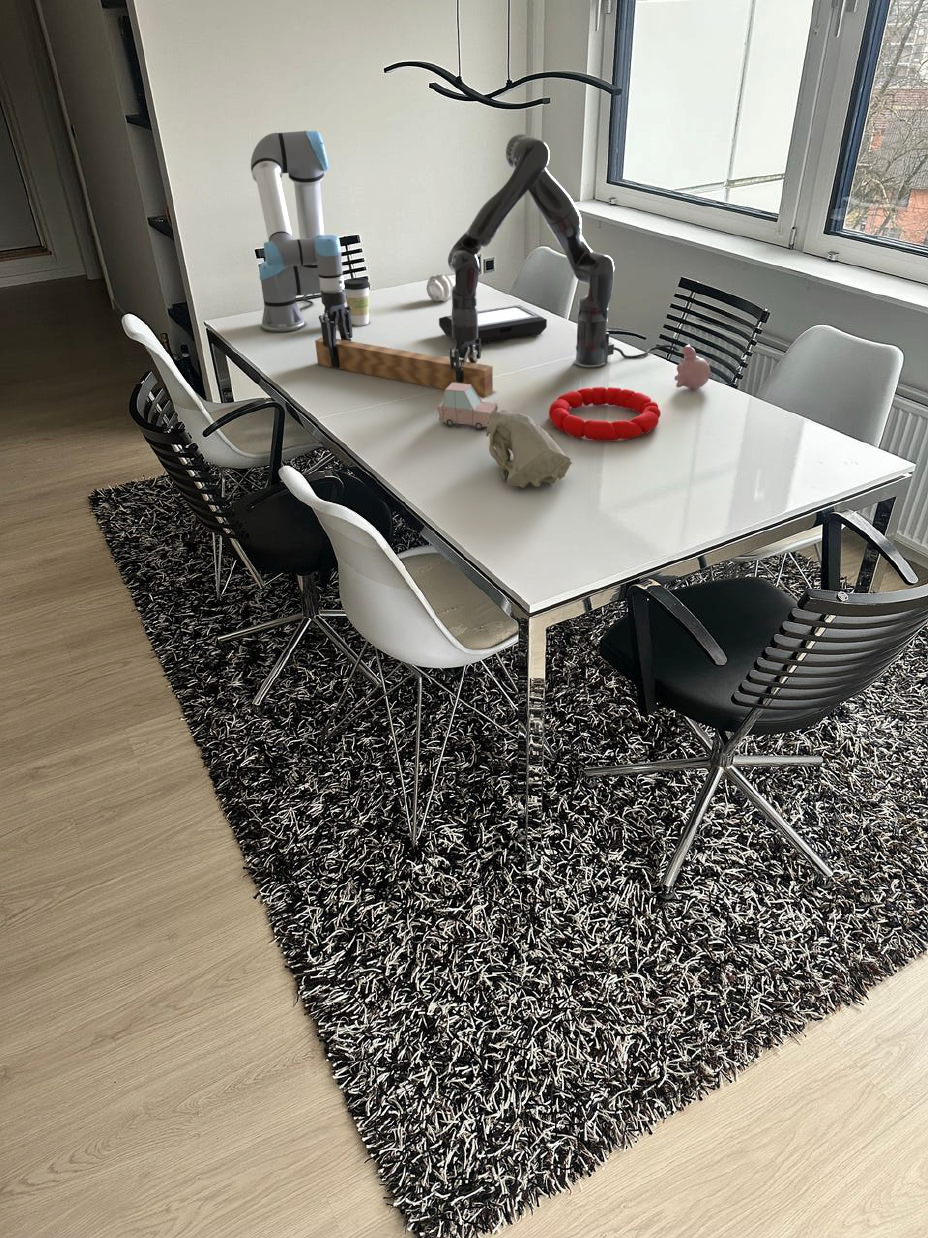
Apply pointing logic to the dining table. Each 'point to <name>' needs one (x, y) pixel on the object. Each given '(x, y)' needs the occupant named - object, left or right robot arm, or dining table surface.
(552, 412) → the decorative ring
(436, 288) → the seashell
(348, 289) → the coffee cup
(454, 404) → the toy car
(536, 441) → the animal skull
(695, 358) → the figurine
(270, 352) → the dining table surface
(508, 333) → the electronic device
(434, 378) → the bar
